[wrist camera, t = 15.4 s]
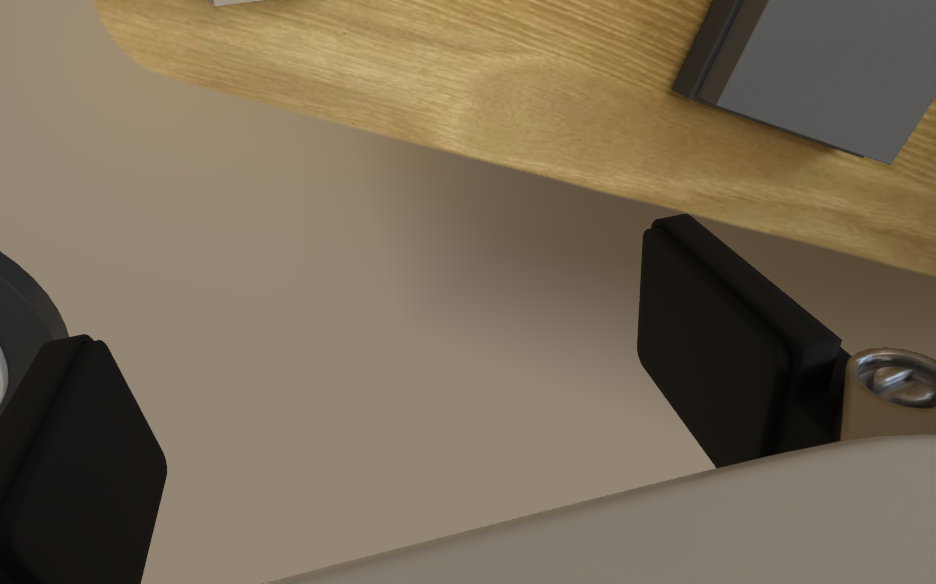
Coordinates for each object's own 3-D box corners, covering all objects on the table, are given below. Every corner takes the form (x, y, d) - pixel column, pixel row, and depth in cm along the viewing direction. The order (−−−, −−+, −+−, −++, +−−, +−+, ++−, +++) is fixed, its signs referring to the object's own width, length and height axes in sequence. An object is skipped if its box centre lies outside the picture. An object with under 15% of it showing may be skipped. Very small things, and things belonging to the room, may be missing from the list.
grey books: (671, 89, 40) (707, 108, 37) (751, -83, 36) (802, -81, 32) (841, 147, 45) (888, 169, 42) (929, 3, 41) (991, 13, 37)
